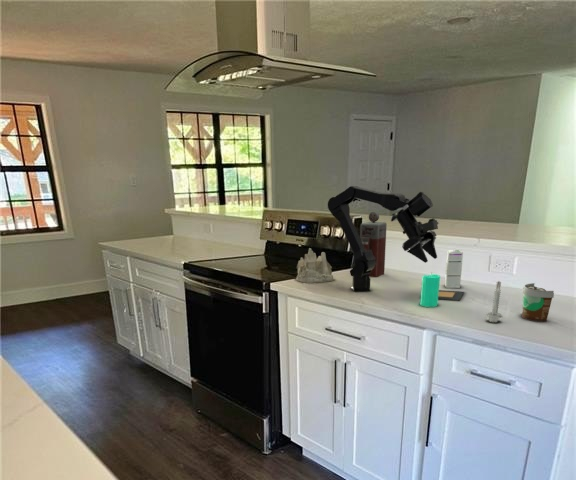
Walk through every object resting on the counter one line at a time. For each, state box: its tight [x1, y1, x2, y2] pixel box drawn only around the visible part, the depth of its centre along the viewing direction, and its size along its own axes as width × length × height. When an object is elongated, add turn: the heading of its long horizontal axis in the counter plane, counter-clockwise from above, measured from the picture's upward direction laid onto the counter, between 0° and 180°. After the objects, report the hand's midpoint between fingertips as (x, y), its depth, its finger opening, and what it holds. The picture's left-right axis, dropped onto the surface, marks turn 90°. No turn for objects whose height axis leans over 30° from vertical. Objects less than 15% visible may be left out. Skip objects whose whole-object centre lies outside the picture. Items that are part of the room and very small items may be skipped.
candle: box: [420, 271, 441, 308], centre depth 180 cm, size 6×6×12 cm
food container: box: [521, 282, 555, 322], centre depth 162 cm, size 12×6×10 cm, turn 5°
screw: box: [485, 280, 503, 323], centre depth 159 cm, size 13×5×5 cm
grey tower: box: [444, 249, 464, 289], centre depth 206 cm, size 6×6×14 cm
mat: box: [438, 289, 465, 302], centre depth 195 cm, size 14×14×1 cm
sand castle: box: [296, 247, 335, 284], centre depth 228 cm, size 16×16×15 cm
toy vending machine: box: [359, 211, 387, 278], centre depth 230 cm, size 9×11×28 cm
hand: (431, 260), depth 187 cm, fingers open, 9 cm apart
